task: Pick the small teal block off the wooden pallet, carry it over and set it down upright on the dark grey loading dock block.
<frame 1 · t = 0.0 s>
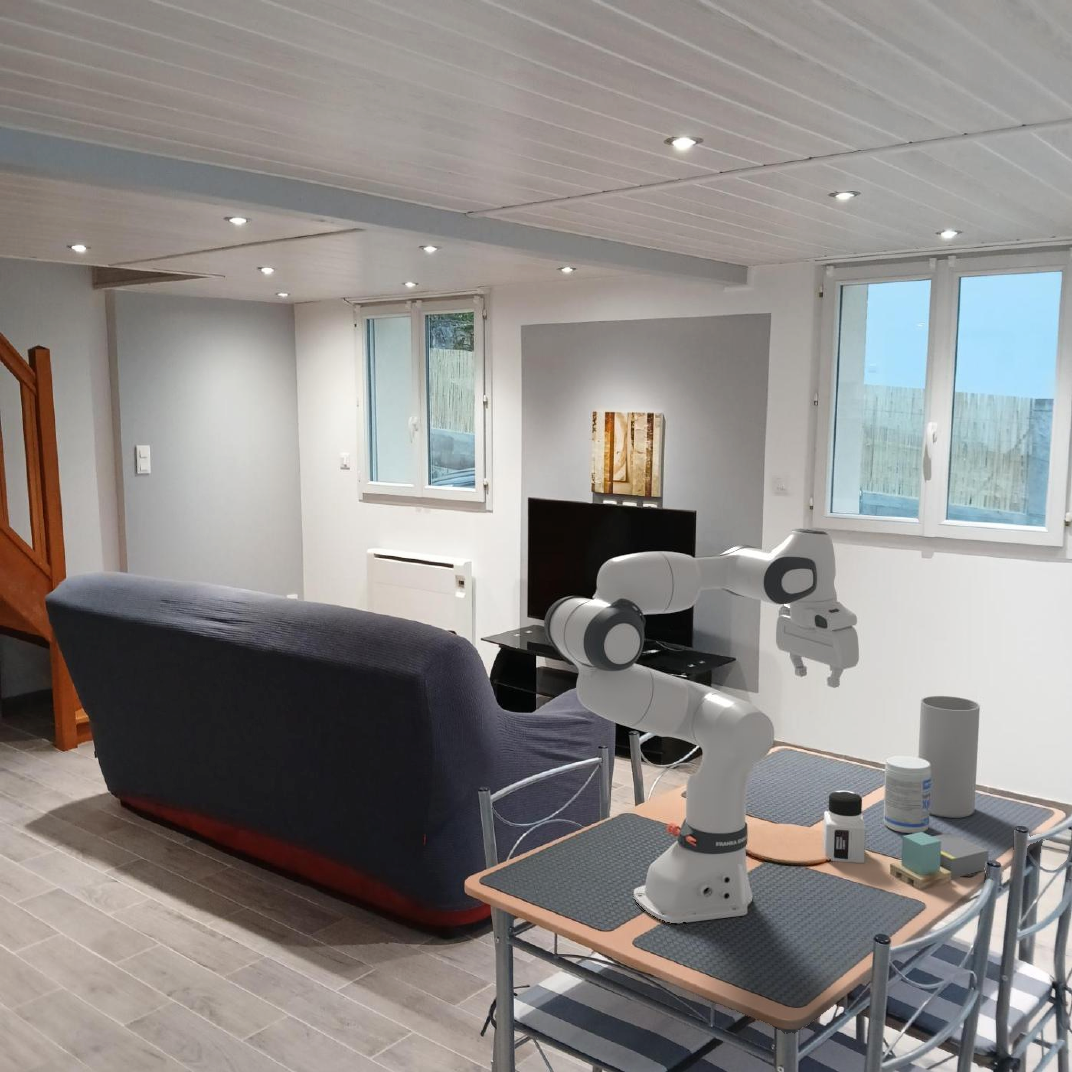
hand: (817, 680, 206), 39 cm above the table, tool pointing down, fingers open, 8 cm apart
teal block: (920, 867, 208), point 2 cm above the table, touching pallet
pallet: (920, 877, 208), on the table
dock: (949, 864, 214), on the table
cylinder vase: (945, 809, 244), on the table
supplement tub: (905, 827, 234), on the table
container: (843, 855, 219), on the table
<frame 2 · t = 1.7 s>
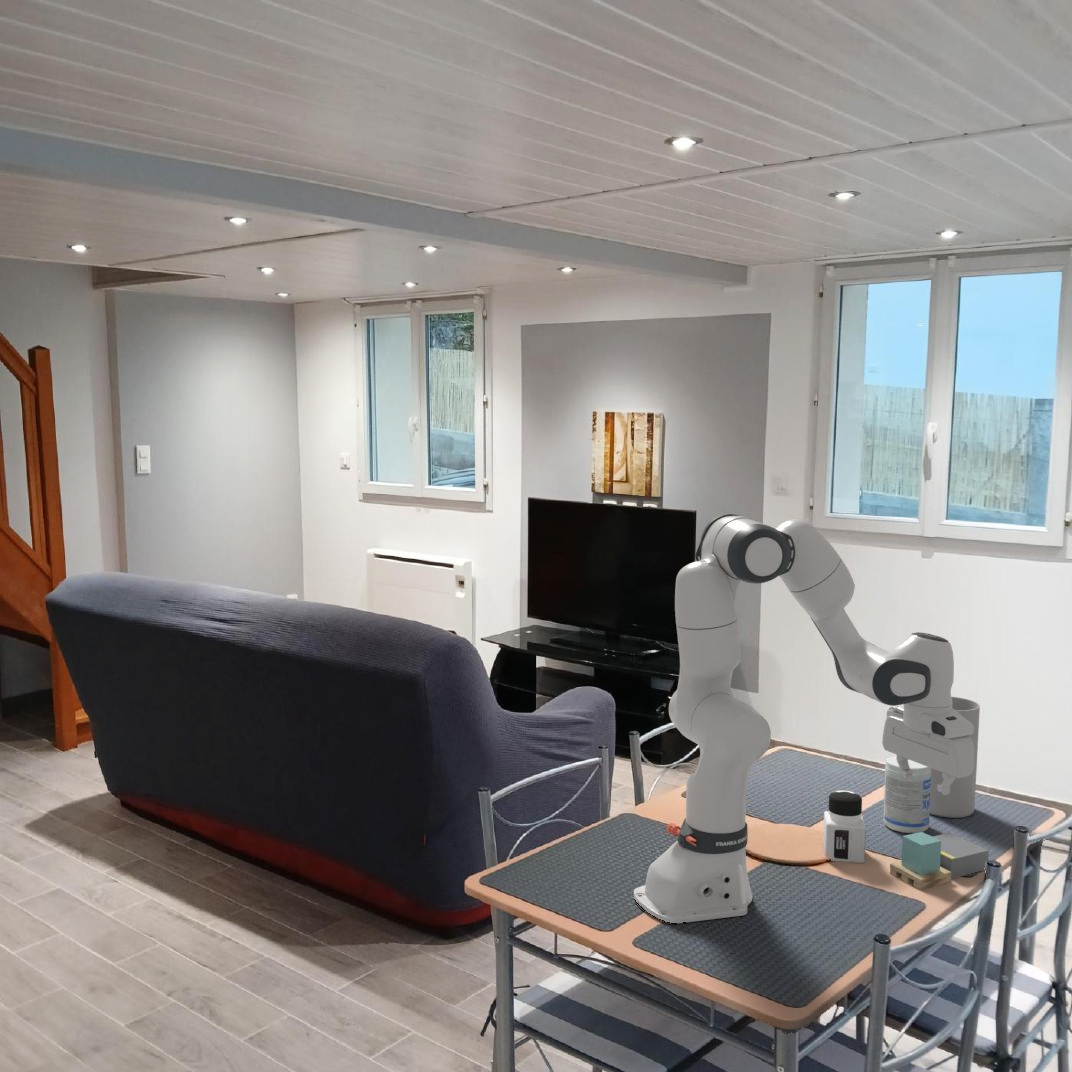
hand: (924, 785, 206), 19 cm above the table, tool pointing down, fingers open, 8 cm apart
nothing on the table moved.
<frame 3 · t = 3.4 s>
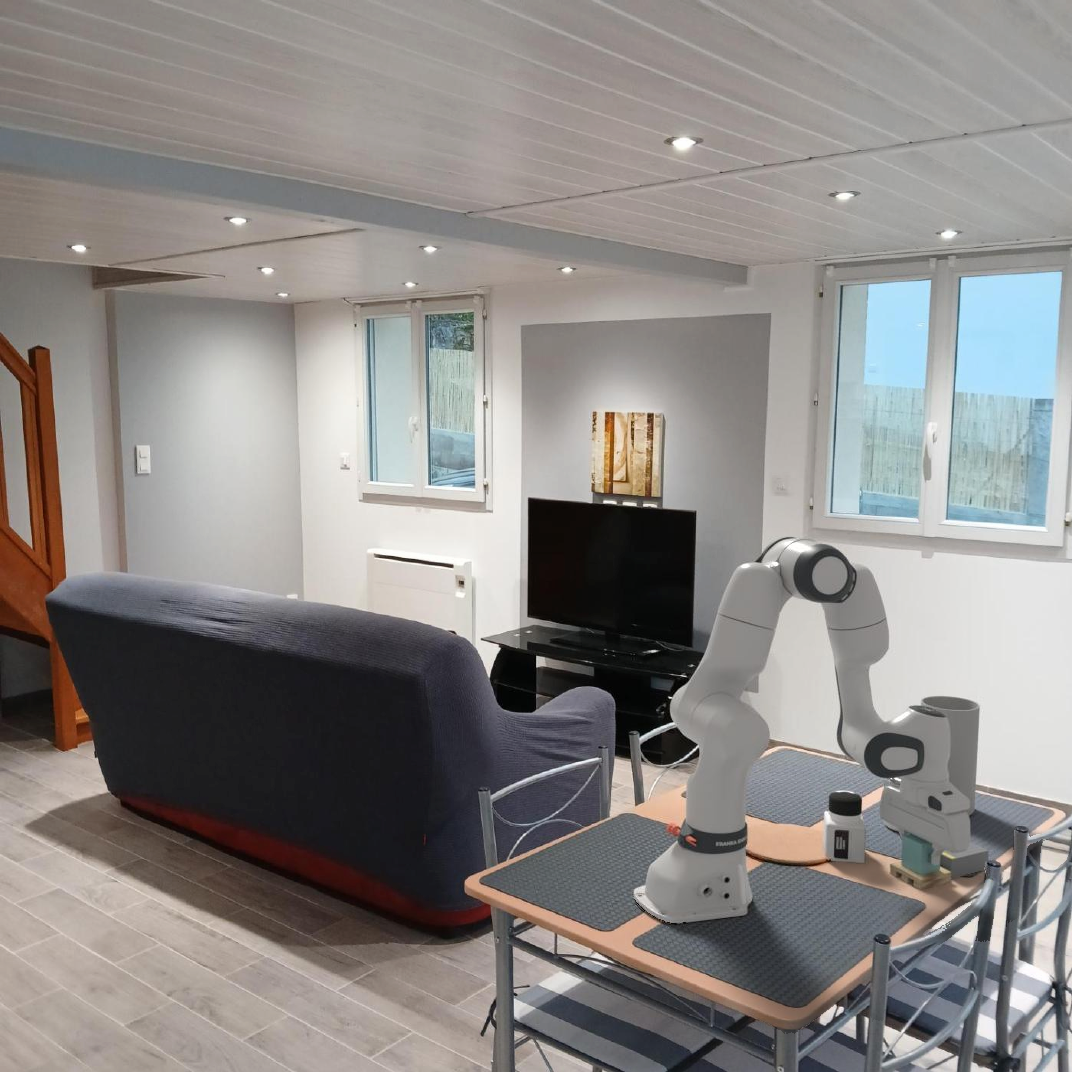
hand: (921, 857, 207), 4 cm above the table, tool pointing down, fingers closed on teal block, 5 cm apart
teal block: (920, 867, 208), point 2 cm above the table, touching gripper, pallet
everything else where it was.
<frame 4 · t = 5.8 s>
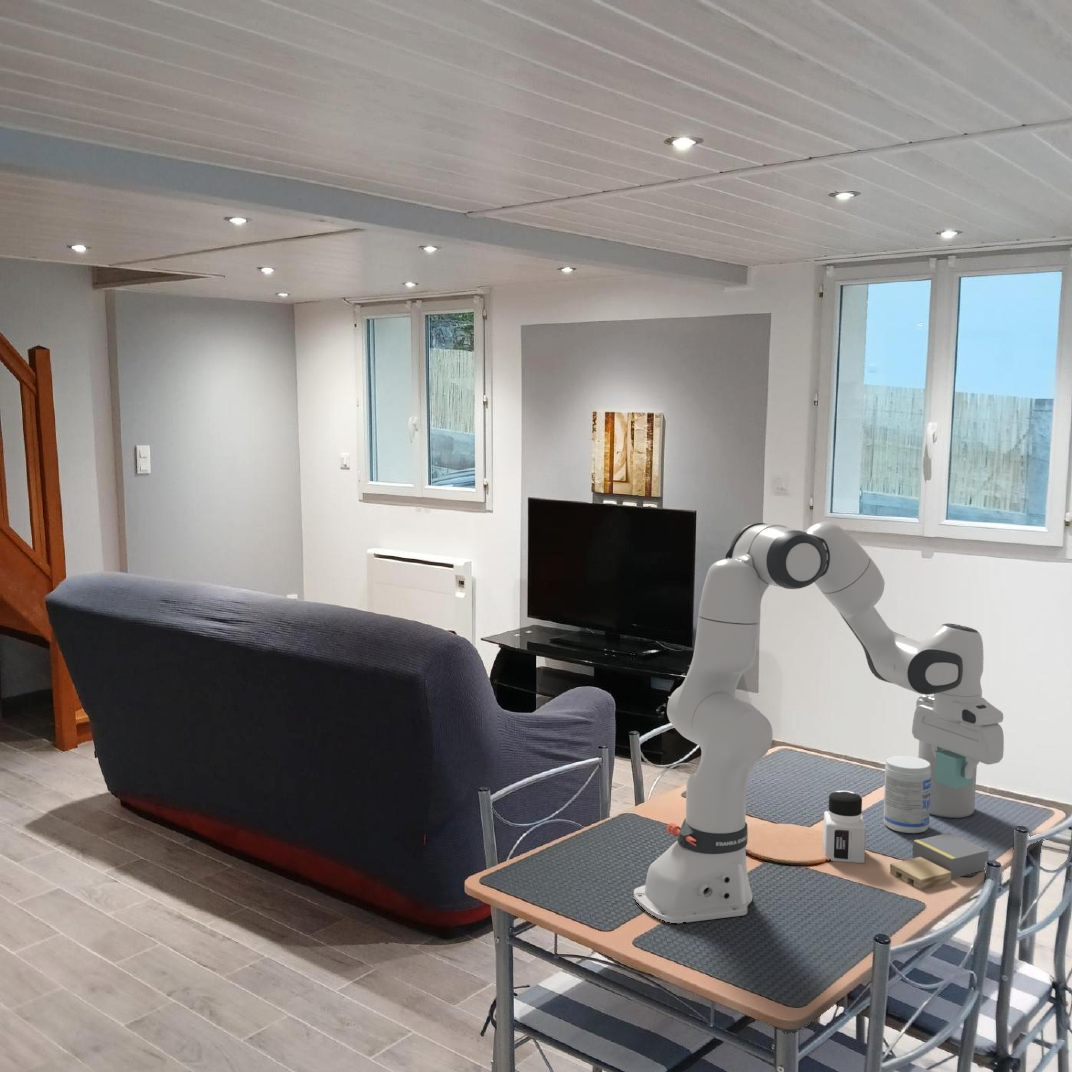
hand: (954, 772, 212), 19 cm above the table, tool pointing down, fingers closed on teal block, 5 cm apart
teal block: (953, 782, 212), point 17 cm above the table, touching gripper
everything else where it was.
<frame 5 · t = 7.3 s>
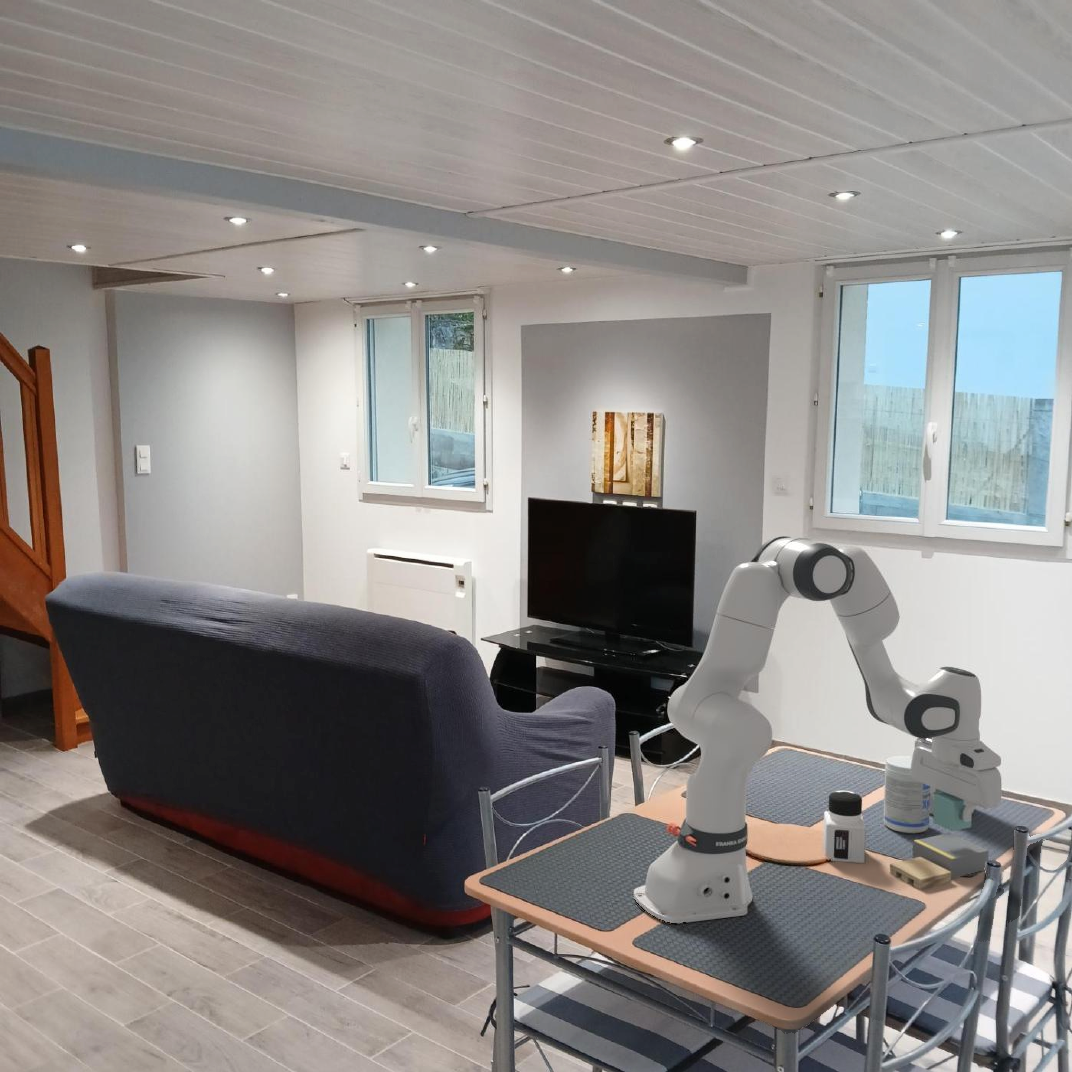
hand: (952, 814, 213), 10 cm above the table, tool pointing down, fingers closed on teal block, 5 cm apart
teal block: (952, 824, 213), point 8 cm above the table, touching gripper
everything else where it was.
when the fingers open (7 cm above the table, at t = 8.4 s): teal block stays where it is, resting on dock.
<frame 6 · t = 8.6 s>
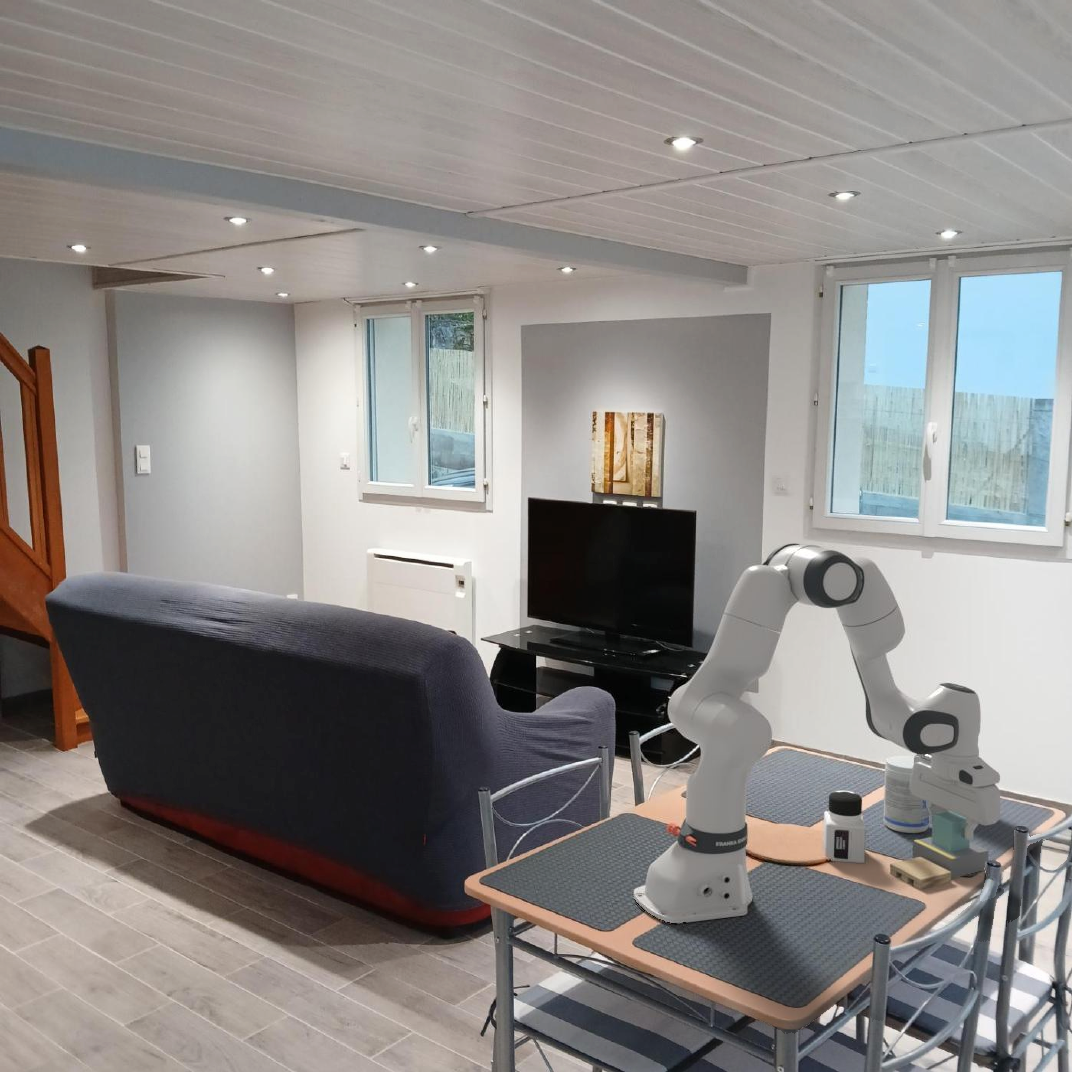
hand: (951, 830, 213), 7 cm above the table, tool pointing down, fingers open, 7 cm apart
teal block: (950, 845, 213), point 4 cm above the table, touching dock
everything else where it was.
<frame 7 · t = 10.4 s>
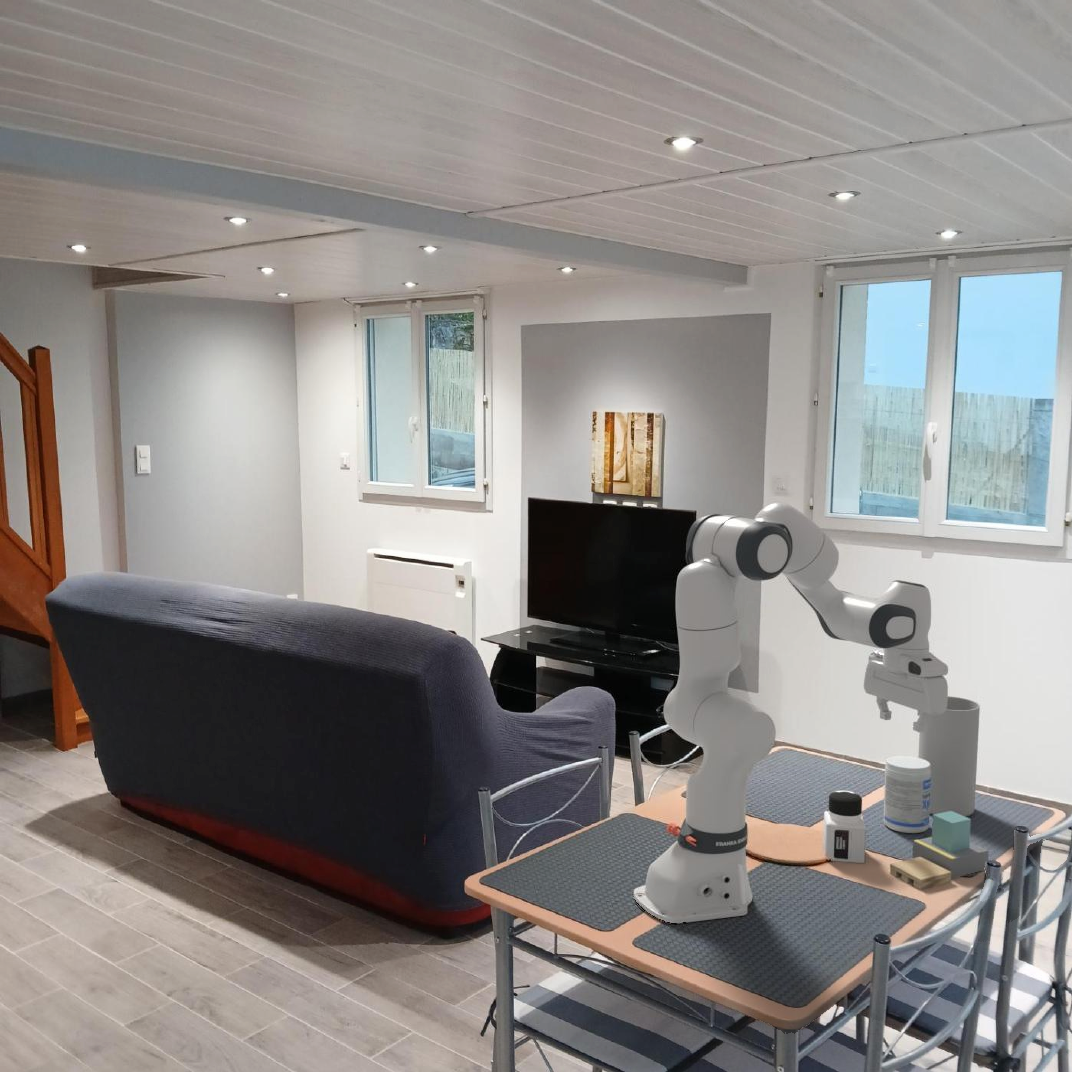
hand: (901, 725, 219), 27 cm above the table, tool pointing down, fingers open, 8 cm apart
nothing on the table moved.
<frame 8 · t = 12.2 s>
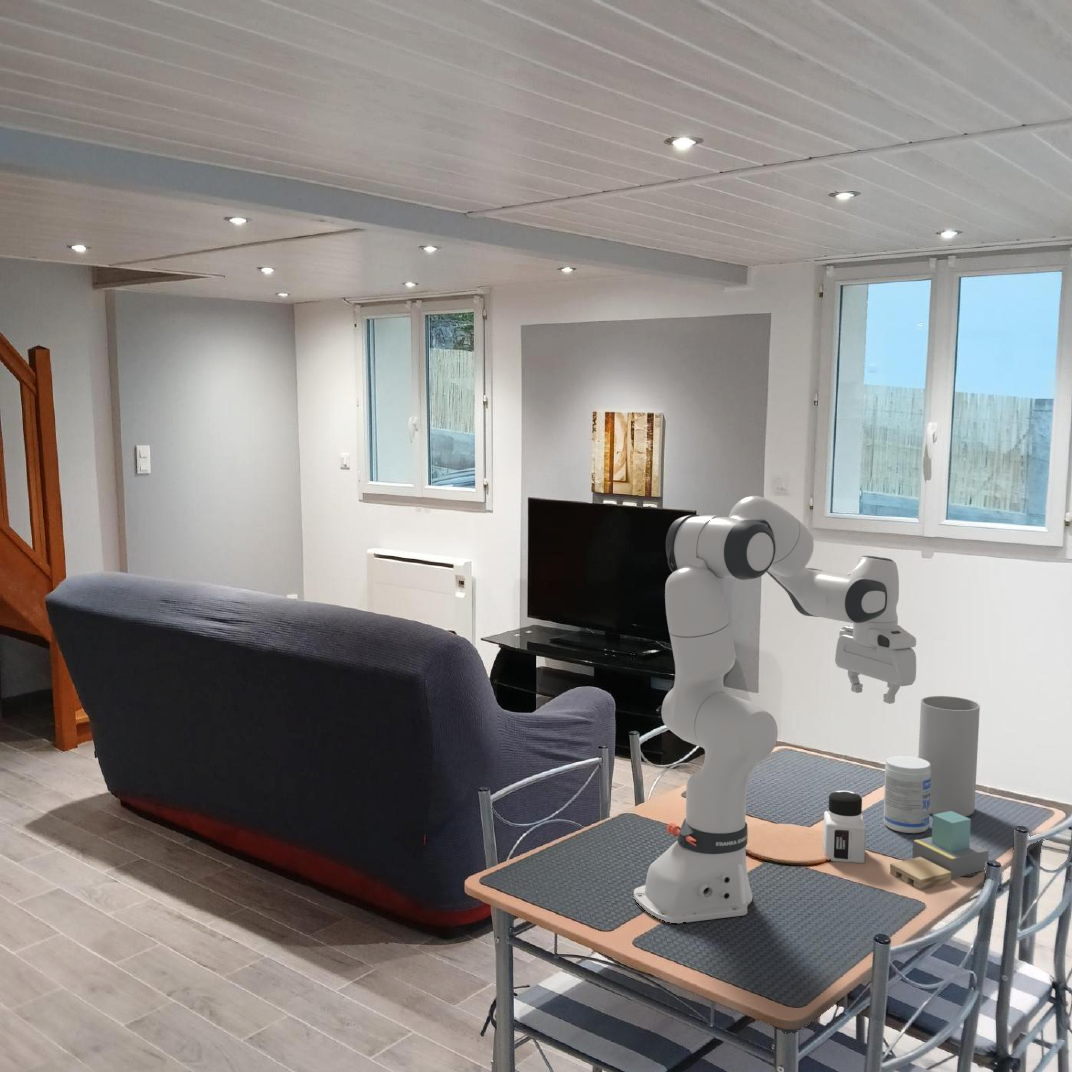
hand: (872, 697, 223), 31 cm above the table, tool pointing down, fingers open, 8 cm apart
nothing on the table moved.
at the end: teal block inside the target area on the dock (0.0 cm from its centre), point 4.0 cm above the dock's base; teal block tilted 0°; the gripper is holding nothing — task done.
